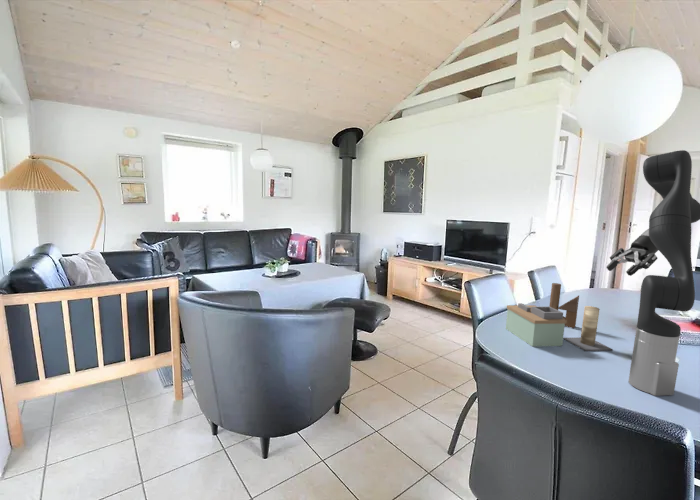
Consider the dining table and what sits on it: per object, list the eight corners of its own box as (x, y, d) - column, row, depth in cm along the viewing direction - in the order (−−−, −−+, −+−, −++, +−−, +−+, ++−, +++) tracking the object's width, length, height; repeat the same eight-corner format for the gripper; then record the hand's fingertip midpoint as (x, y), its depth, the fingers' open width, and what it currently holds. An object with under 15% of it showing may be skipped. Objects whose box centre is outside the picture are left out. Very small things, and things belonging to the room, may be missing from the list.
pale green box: (564, 346, 128) (568, 313, 126) (532, 346, 126) (535, 314, 125) (533, 328, 146) (536, 299, 144) (504, 328, 145) (507, 299, 143)
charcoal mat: (612, 350, 125) (612, 349, 125) (584, 351, 124) (585, 349, 124) (588, 338, 136) (588, 337, 136) (563, 339, 135) (563, 337, 135)
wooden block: (573, 328, 147) (578, 288, 145) (546, 322, 155) (550, 283, 152) (575, 326, 150) (580, 286, 148) (548, 320, 157) (552, 282, 155)
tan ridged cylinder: (597, 345, 128) (602, 309, 126) (586, 345, 127) (591, 309, 126) (588, 340, 132) (592, 306, 131) (577, 340, 132) (581, 306, 130)
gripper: (627, 232, 133) (596, 261, 133) (664, 236, 119) (629, 268, 119) (637, 246, 134) (607, 274, 135) (675, 251, 120) (641, 283, 121)
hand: (617, 271), depth 127 cm, fingers open, 8 cm apart
